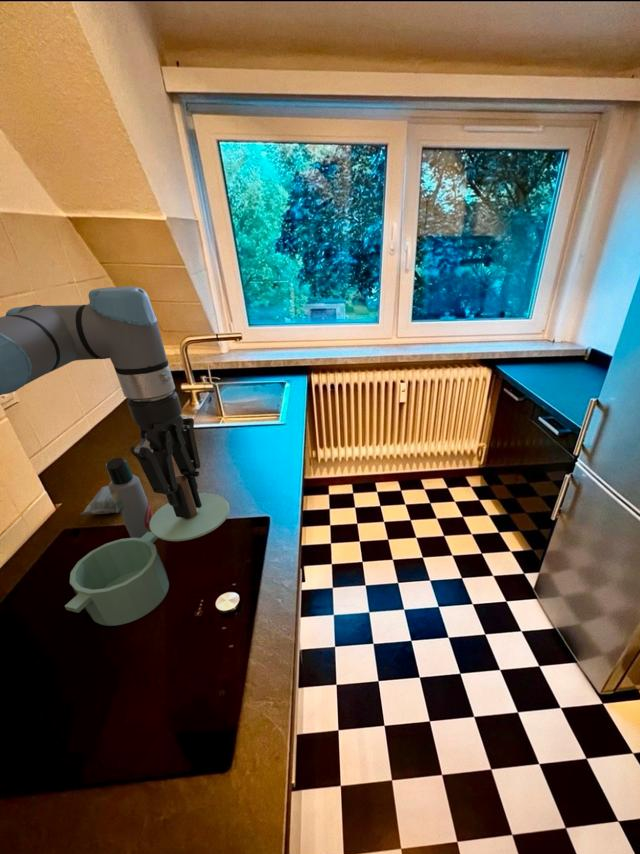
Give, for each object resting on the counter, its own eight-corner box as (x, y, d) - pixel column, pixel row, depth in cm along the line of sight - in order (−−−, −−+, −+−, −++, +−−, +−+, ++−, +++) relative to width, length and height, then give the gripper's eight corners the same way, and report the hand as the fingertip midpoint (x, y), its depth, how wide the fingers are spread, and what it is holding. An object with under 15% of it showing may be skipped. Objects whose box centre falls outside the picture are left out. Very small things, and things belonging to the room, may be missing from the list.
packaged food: (84, 522, 93) (76, 505, 90) (105, 494, 103) (99, 479, 100) (122, 519, 94) (115, 502, 91) (140, 492, 104) (134, 476, 101)
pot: (57, 629, 67) (34, 596, 63) (137, 555, 83) (123, 524, 78) (122, 646, 64) (103, 613, 60) (192, 566, 80) (181, 535, 75)
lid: (133, 536, 71) (115, 496, 66) (183, 493, 83) (171, 456, 78) (202, 549, 68) (189, 508, 63) (243, 502, 80) (235, 464, 75)
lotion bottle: (164, 528, 90) (135, 453, 79) (154, 545, 85) (122, 467, 75) (139, 529, 90) (108, 454, 79) (128, 546, 85) (92, 468, 74)
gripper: (134, 415, 55) (179, 540, 67) (201, 380, 68) (228, 491, 80) (92, 411, 56) (143, 534, 69) (164, 377, 69) (197, 486, 82)
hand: (189, 510), depth 75 cm, fingers closed on lid, 3 cm apart
